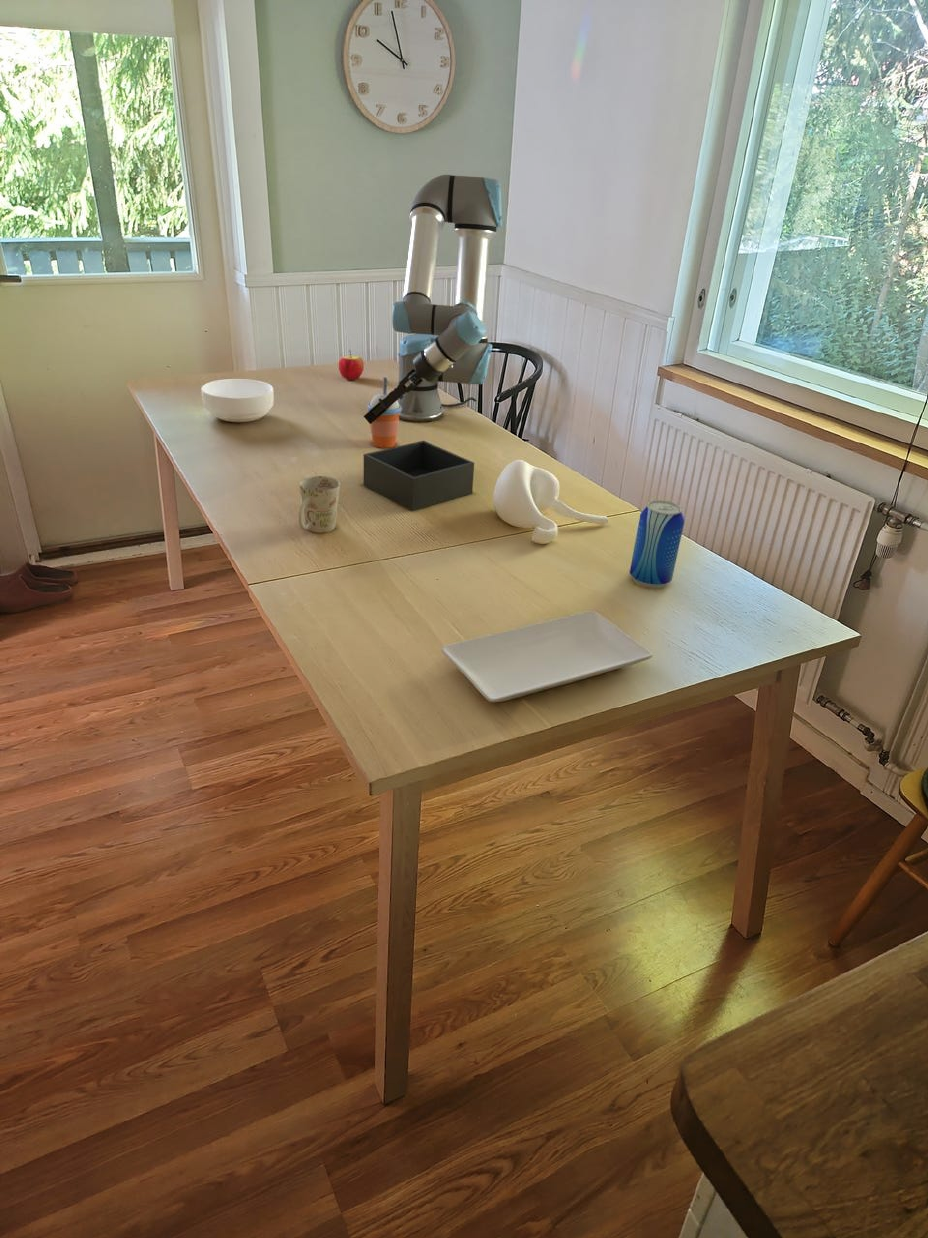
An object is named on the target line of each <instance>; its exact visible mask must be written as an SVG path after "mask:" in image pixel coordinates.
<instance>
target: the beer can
mask: <svg viewBox="0 0 928 1238" xmlns="http://www.w3.org/2000/svg"><path fill="white" fill-rule="evenodd" d="M682 511H683V508H682V506H680V505H679V504H678V503H675V502H673V501H670V500H663V499H654V500H651V501H648V502H647V503H646V507H645V508H644V509H643V510H641V512H640V515H639V521H638V525H637V531H636V535H635V541H634V547H633V552H632V557H631V562H630V567H629V574H630V576H631V578H632V581H633V582H634V583H635V585H637V586H640V587H642V588H645V589H650V590H658V589H659V590H660V589H664V588H666V586H668V584H669V583H670V582H672V580H673V577H674V573H675V572H674V571H675V567H676V562H677V557H678V554H679V549H680V544H681V540H682V535H683V530H684V526H685V518H684V515H683V513H682Z"/></svg>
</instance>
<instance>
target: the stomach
mask: <svg viewBox="0 0 928 1238" xmlns="http://www.w3.org/2000/svg"><path fill="white" fill-rule="evenodd" d="M559 494H560V482H559V480H558V478H557V477H556V476H555V475H554V474H553V473H551V472H550V471H549V470H546V469H543V468H540V467H537V466H534V465H531V464H530V463H528V462H527V461H525V460H522V459H516V460H513V461H511V462H510V463H509V464H507V465H506V466H505V467H504V469H503V470H502V471H501V473H500V474H499V476H498V478H497V480H496V482H495V486H494V490H493V506H494V509H495V512H496V514H497V515H498V517H499V518H500V519H501V520H502V521H503V522H504V523H506V524H508V525H511V526H513V527H515V528H516V527H517V528H520V529H522V528H523V529H533V532H532V534H531V541H532V542H535V544H541V545H545V544H549V543H551V542H553V541H554V540H555V539H556V537H557V536H558V532H559V531H558V530H559V529H558V525H557V523H556V522H555V521H554V520H552V519H550V518H548V517H546V516H544V515H543V514H544V513H546V512H548V511H549V510H553V511H554V512H555V513H556V514H558V515H559V516H561V517H565V518H569V519H572V520H576V521H579V522H583V523H588V524H597V525H607V524H608V523H609V519H608V516H605V515H596V514H589V513H585V512H584V513H583V512H580V511H577V510H575V509H574V508H571V507H570V506H568V505H567V504H565V502H564V501H562V500H559Z"/></svg>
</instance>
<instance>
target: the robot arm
mask: <svg viewBox="0 0 928 1238" xmlns="http://www.w3.org/2000/svg"><path fill="white" fill-rule="evenodd" d="M501 188H502V187H501V183H500V181H499V180H498V179H495V178H491V177H490V178H489V177H484V176H480V177H479V176H467V175H452V174H442V175H438V176H435V177H433V178H432V179H430V180H429V181H428V182H426V183H425V184H424V185H423V186H422V187H420V189H419V190H418V192H417V194H416V195H415V196H414V199H413V201H412V203H411V206H410V210H409V215H408V216H409V217H408V220H409V224H410V226H411V231H410V237H409V238H410V239H409V247H408V255H407V262H406V270H405V279H404V286H403V293H402V294H403V295H402V300H401V301H395V302H394V303H393V306H392V314H391V322H392V329H393V331H395V332H398V333H403V334H409V335H406V336H404V337H403V338H401V340H400V342H399V351H398V356H399V357H398V385H397V386H396V387H395V388H393V390H391V391H390V392H389V393H388V394H389V395H388V396H386V397H385V398H384V399H383V400H381V399H379V401H380V402H379V403H378V404H377V405H375V406H374V407H373V408H372V409H371V410H370V411H367V413H365V414H364V415H363V418H364V419H365V420H366V421H367V422H368V424H369V425H370V424H371V423H372V422H374V421H375V420H376V419H377V418H378V417H379V416H380V415H381V414H383V413H384V412H385V411H386V410H387V409H389V407H390V406H391V405H392V404H393V403H394V402H396V401H398V403H399V404H400V405H401V407H402V410H401V412H400V413H399V420H402V421H406V422H415V423H416V422H417V423H428V422H435V421H437V420H440V419H441V418H442V417H443V412H444V411H443V408H453V407H458V406H462V405H464V404H467V403H468V402H470V401H473V402H477V399H476V398H474V397H468V398H467V399H465V400H464V401H461V402H457V403H452V404H451V403H450V404H445V403H442V402H441V398H440V394H439V390H438V389H439V383H448V384H449V383H451V384H464V385H468V386H470V385H483V384H484V383H485V381H486V378H487V374H488V369H489V365H490V360H491V354H492V350H493V344H491V343H489V336H488V335H487V334H486V333H487V330H486V327H485V313H486V300H487V299H486V298H487V286H488V275H489V274H488V273H489V262H490V261H489V260H490V248H491V247H490V246H491V240H492V239H493V238H494V236H496V235H497V229H498V228H500V227H502V226H503V215H502V213H503V212H502V211H503V210H502V190H501ZM445 223H449V224H454V232H455V233H456V235H457V236H458V238H459V239H458V253H457V270H456V284H455V286H456V287H455V302H454V305H448V304H447V305H446V304H435V303H434V304H433V303H432V301H433V292H434V283H435V276H436V267H437V259H438V258H437V257H438V249H439V241H440V239H439V238H440V232H441V231H442V230H443V229H444V227H445Z"/></svg>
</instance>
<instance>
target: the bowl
mask: <svg viewBox="0 0 928 1238" xmlns="http://www.w3.org/2000/svg"><path fill="white" fill-rule="evenodd" d="M200 392H201V399H202V404H203V407H204V408H205V409H206V410H207V411H208V412H209V413H210V414H211V415H213V416H214V417H216V418H218V419H220V420H221V421H225V422H232V423H246V422H247V423H248V422H253V421H256V420H259V419H261V418H263V417H264V416H265V415H267V414H268V413H269V411H270V410H271V409H272V408H273V407H274V401H275V400H274V399H275V397H274V396H275V394H274V387H273V386H272V385H271V384H270V383H268V382H265V381H260V380H256V379H248V378H227V379H226V378H225V379H217V380H213V381H209V382H207V383H205V384H203V385H202V386H201V387H200Z"/></svg>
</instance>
